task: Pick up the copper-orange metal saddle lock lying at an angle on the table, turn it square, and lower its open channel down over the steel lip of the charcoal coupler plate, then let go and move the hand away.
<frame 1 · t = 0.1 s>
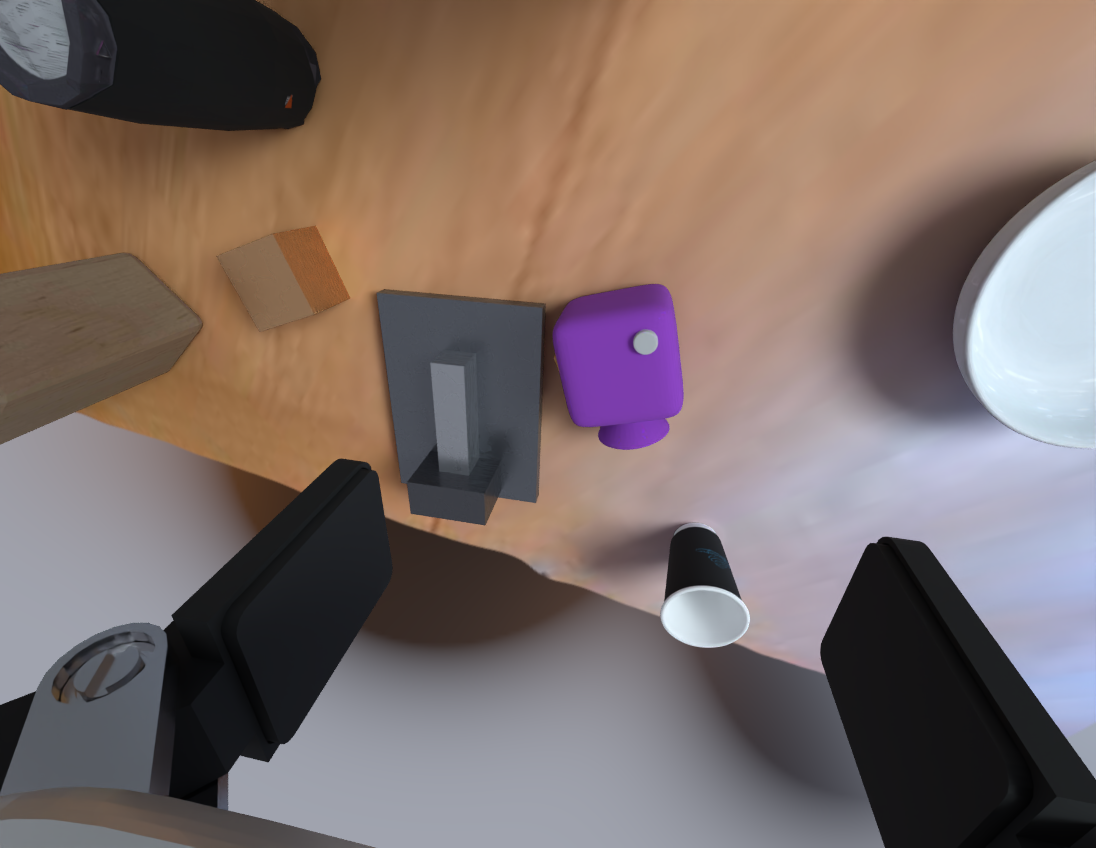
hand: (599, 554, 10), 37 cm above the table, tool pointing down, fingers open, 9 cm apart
serving bowl: (1077, 284, 37), on the table
wooden block: (154, 313, 54), on the table
portable speaker: (281, 74, 40), on the table
dixie cup: (694, 538, 55), on the table
saddle lock: (307, 272, 48), on the table
coupler plate: (467, 400, 51), on the table
toy camera: (627, 352, 46), on the table
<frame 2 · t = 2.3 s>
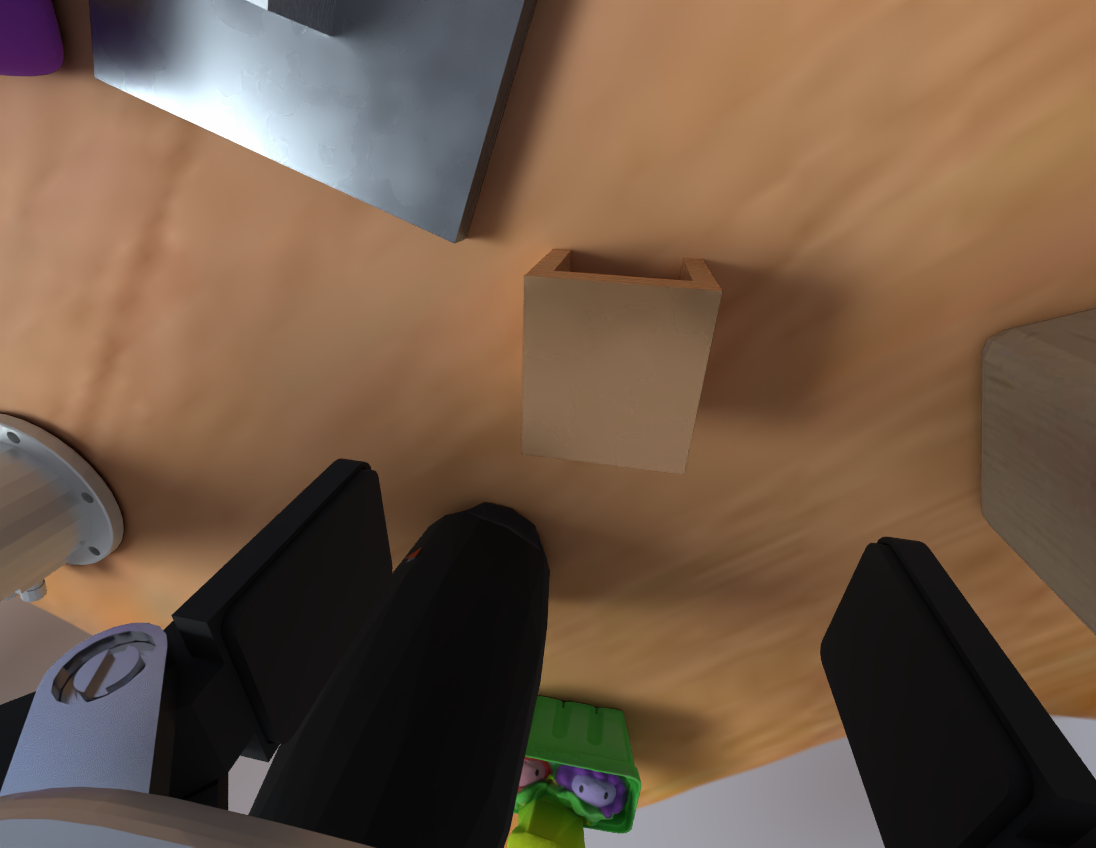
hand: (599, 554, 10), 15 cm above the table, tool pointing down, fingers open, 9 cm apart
portable speaker: (490, 547, 31), on the table
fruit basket: (563, 720, 38), on the table
saddle lock: (617, 332, 23), on the table
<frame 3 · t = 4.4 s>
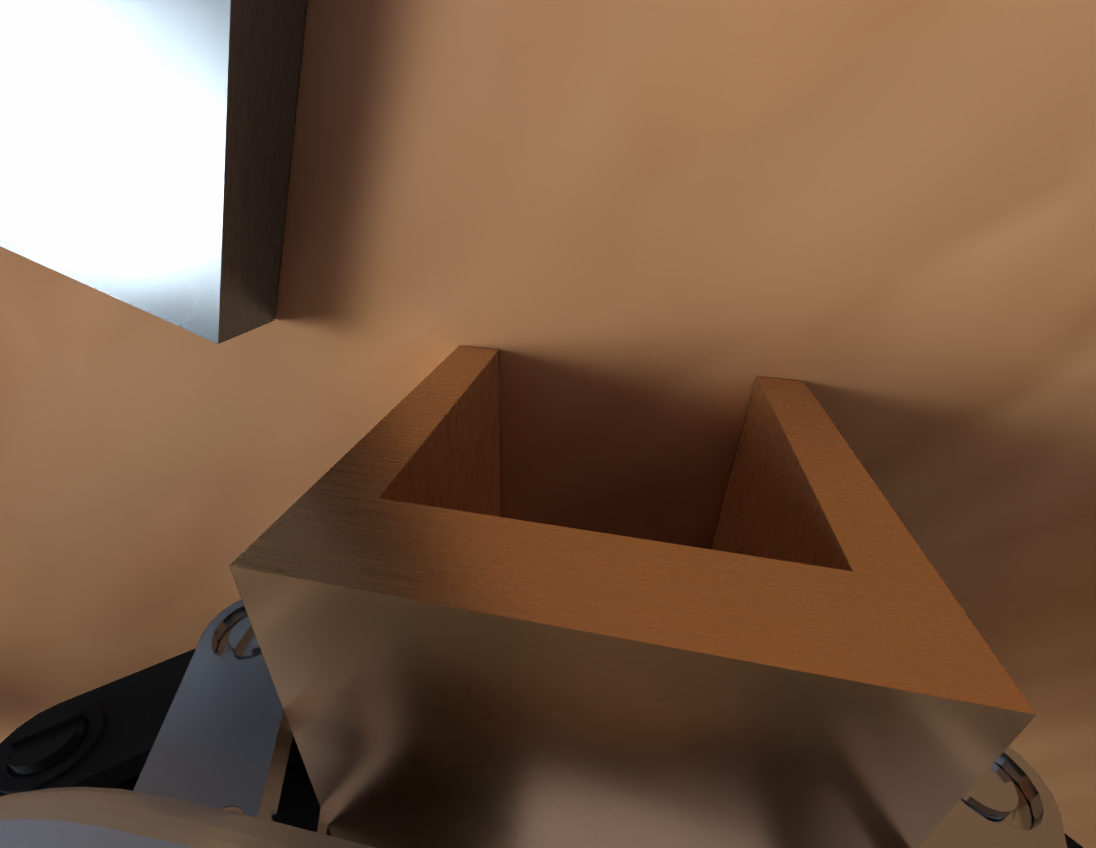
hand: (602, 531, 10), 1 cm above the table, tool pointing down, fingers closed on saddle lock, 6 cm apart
saddle lock: (605, 510, 11), on the table, touching gripper
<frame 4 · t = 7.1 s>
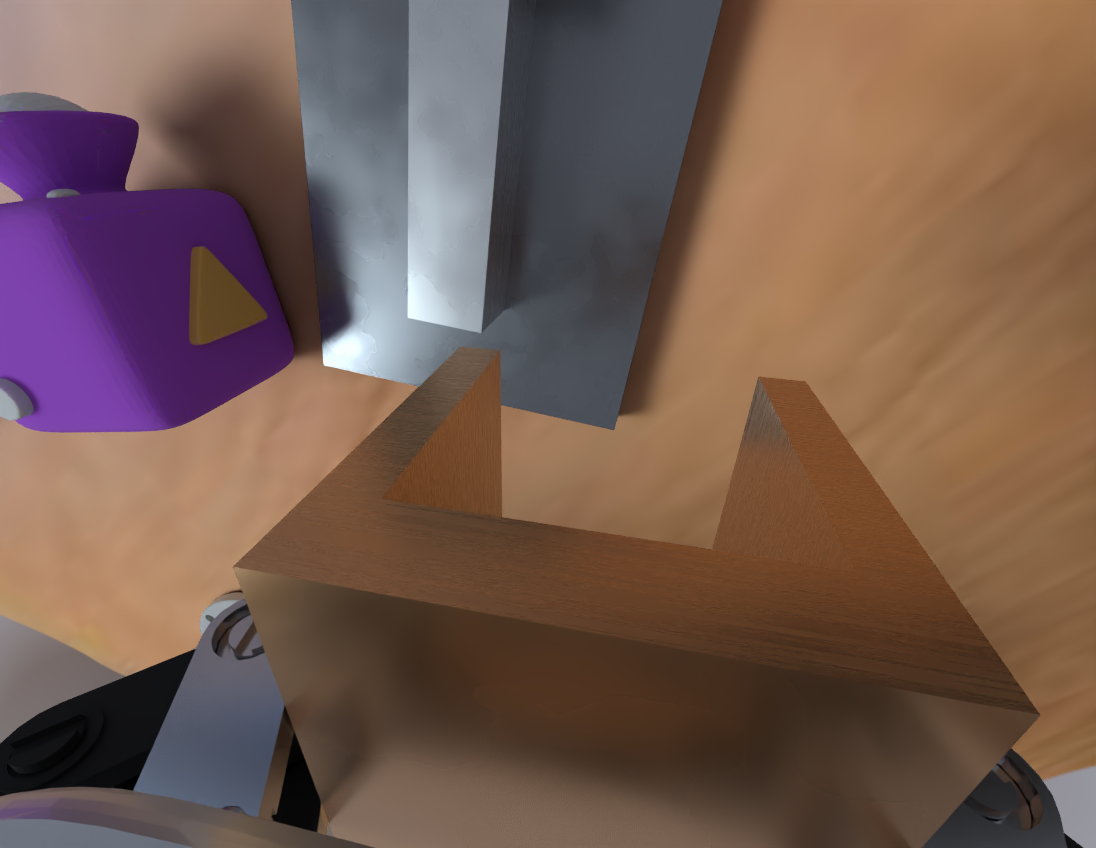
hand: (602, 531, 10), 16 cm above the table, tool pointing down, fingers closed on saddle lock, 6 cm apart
saddle lock: (606, 510, 11), point 15 cm above the table, touching gripper
coupler plate: (491, 162, 21), on the table
toy camera: (201, 255, 27), on the table
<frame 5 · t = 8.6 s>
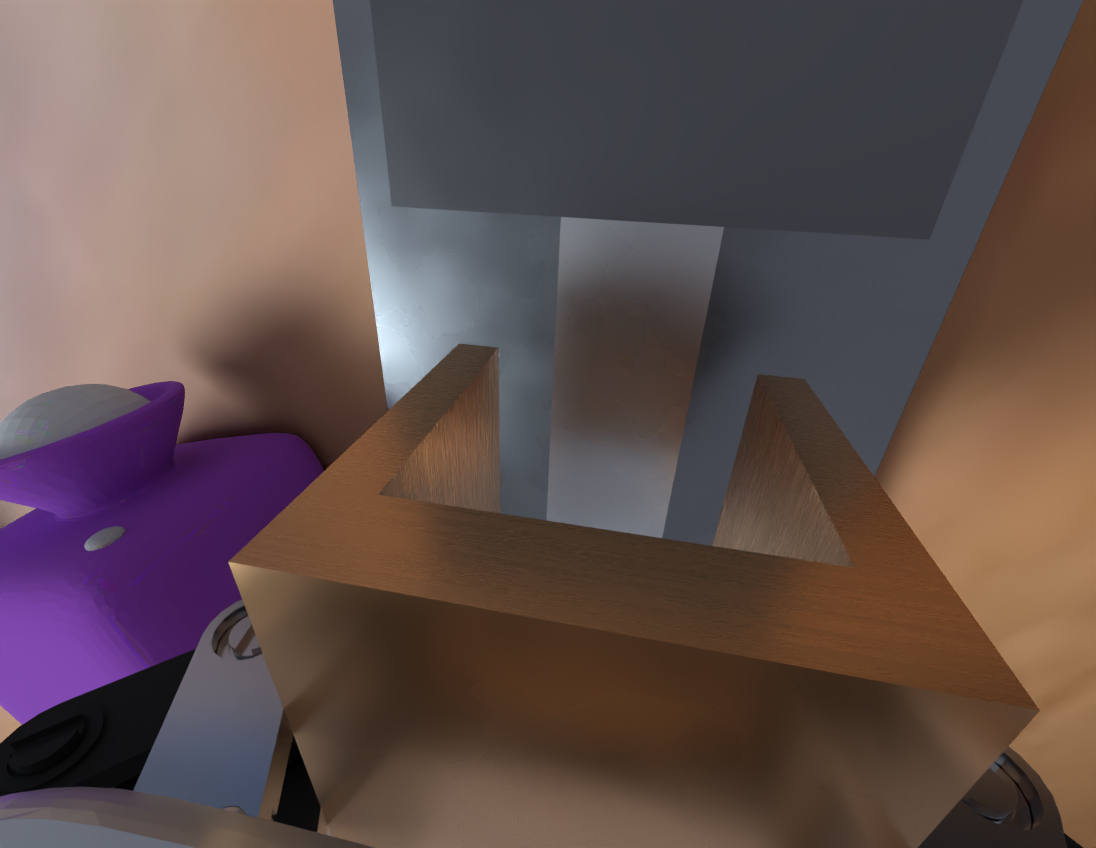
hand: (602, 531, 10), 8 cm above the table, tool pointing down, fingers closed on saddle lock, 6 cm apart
saddle lock: (605, 508, 11), point 7 cm above the table, touching gripper
coupler plate: (621, 386, 17), on the table
toy camera: (259, 483, 23), on the table
when the fingers open (4 cm above the table, at t = 9.9 s): saddle lock drops 1 cm, resting on coupler plate.
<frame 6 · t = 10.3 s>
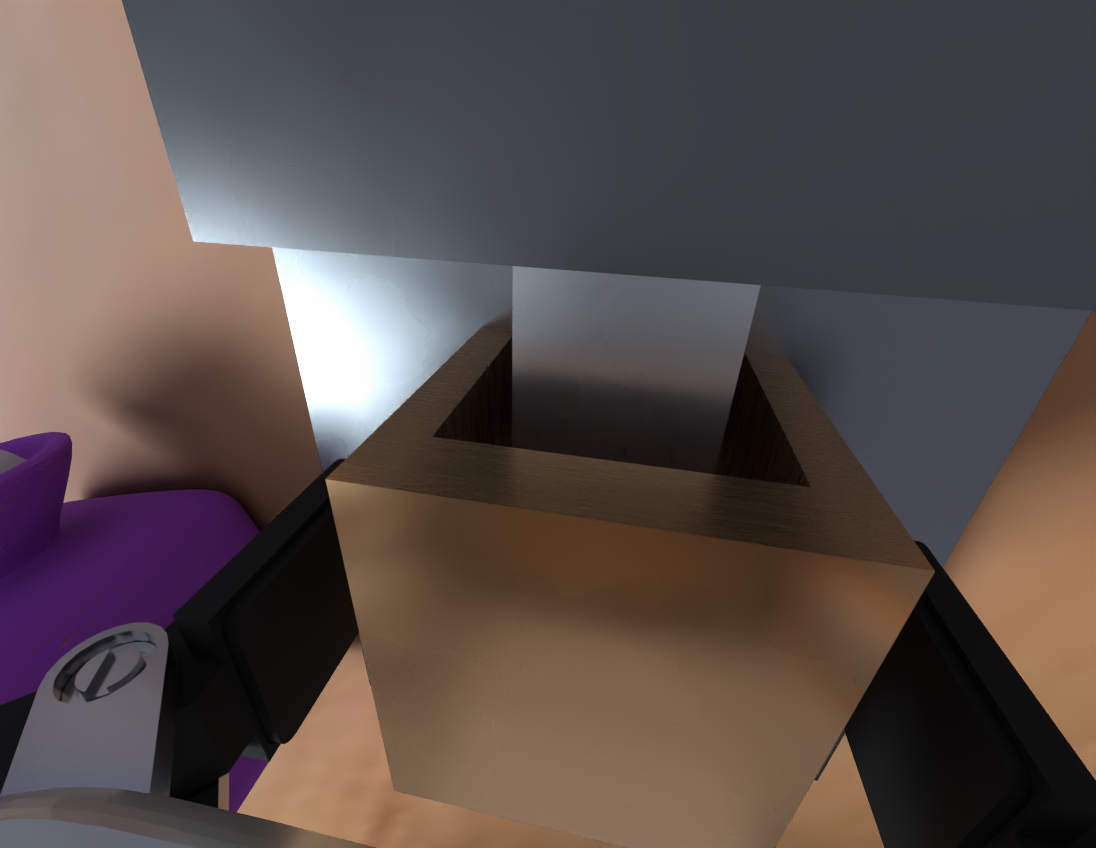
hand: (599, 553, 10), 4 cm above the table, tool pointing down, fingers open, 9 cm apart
saddle lock: (610, 476, 12), point 1 cm above the table, touching coupler plate
coupler plate: (613, 444, 13), on the table
toy camera: (190, 540, 19), on the table
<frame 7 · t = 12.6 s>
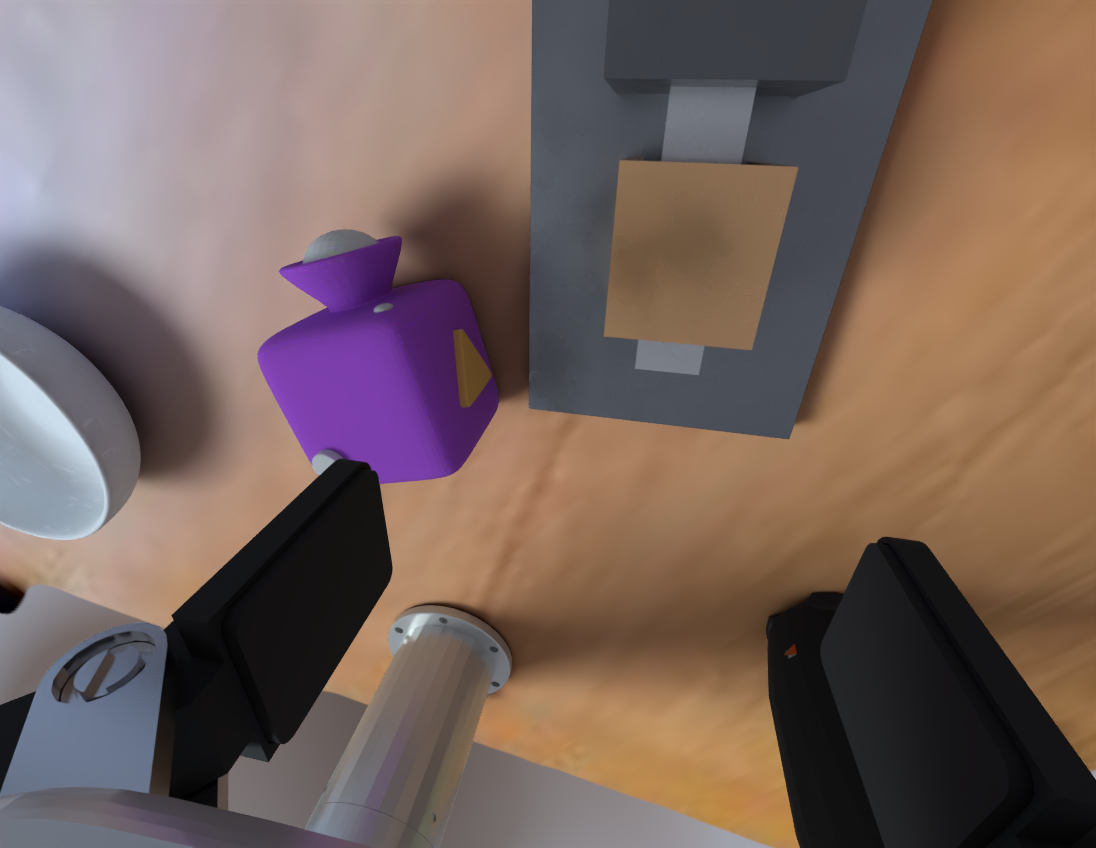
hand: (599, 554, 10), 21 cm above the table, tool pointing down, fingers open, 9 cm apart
serving bowl: (70, 394, 42), on the table
portable speaker: (818, 623, 38), on the table
saddle lock: (683, 237, 25), point 1 cm above the table, touching coupler plate
coupler plate: (682, 232, 26), on the table
toy camera: (418, 329, 32), on the table
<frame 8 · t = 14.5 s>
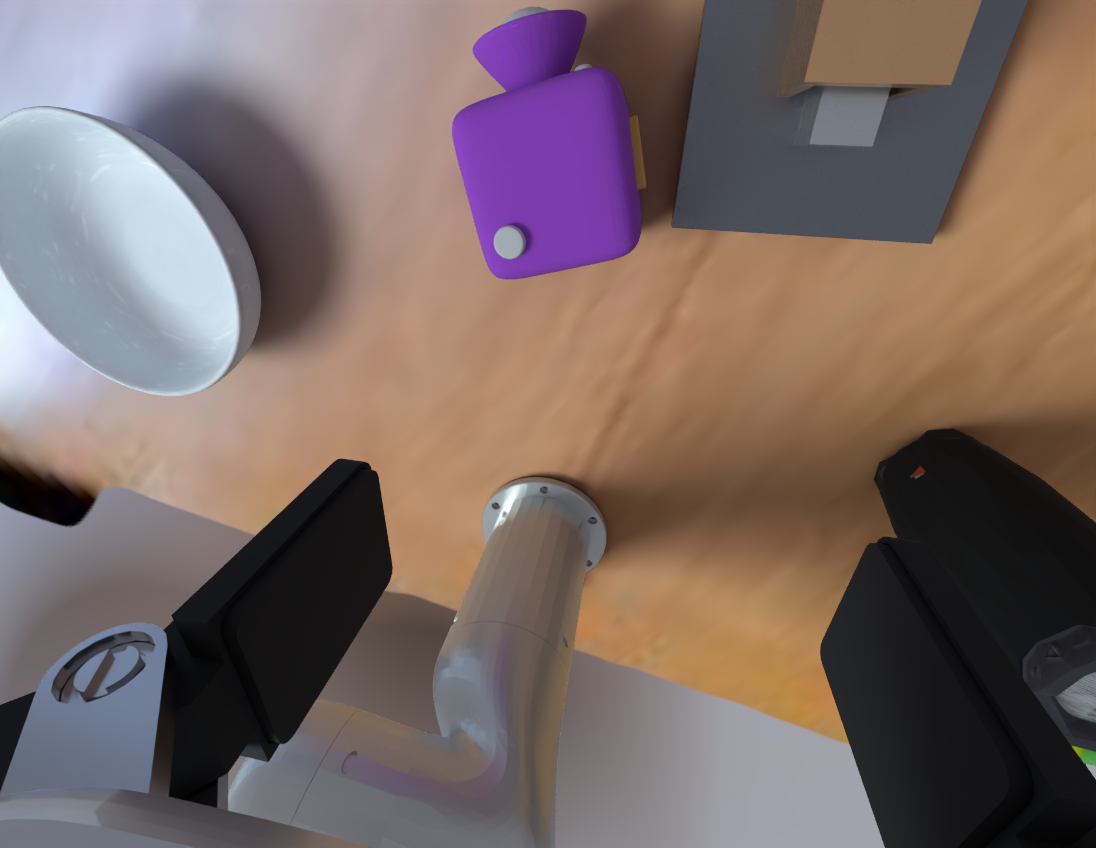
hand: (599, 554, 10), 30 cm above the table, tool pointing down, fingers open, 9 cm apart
serving bowl: (186, 256, 43), on the table
portable speaker: (927, 468, 39), on the table
saddle lock: (855, 20, 26), point 1 cm above the table, touching coupler plate
coupler plate: (845, 26, 28), on the table
toy camera: (562, 155, 33), on the table
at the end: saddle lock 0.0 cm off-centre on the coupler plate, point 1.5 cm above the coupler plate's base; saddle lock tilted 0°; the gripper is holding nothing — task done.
